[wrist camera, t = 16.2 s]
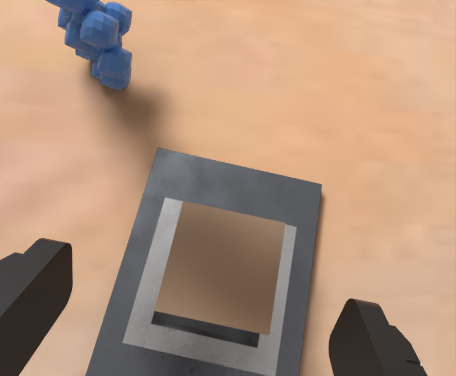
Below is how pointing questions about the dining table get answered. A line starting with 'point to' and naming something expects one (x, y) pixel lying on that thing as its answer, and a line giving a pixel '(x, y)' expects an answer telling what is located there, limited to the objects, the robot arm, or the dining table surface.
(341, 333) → the robot arm
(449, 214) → the dining table surface
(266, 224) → the walnut post
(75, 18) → the grapes
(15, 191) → the dining table surface
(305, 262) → the keeper cradle
